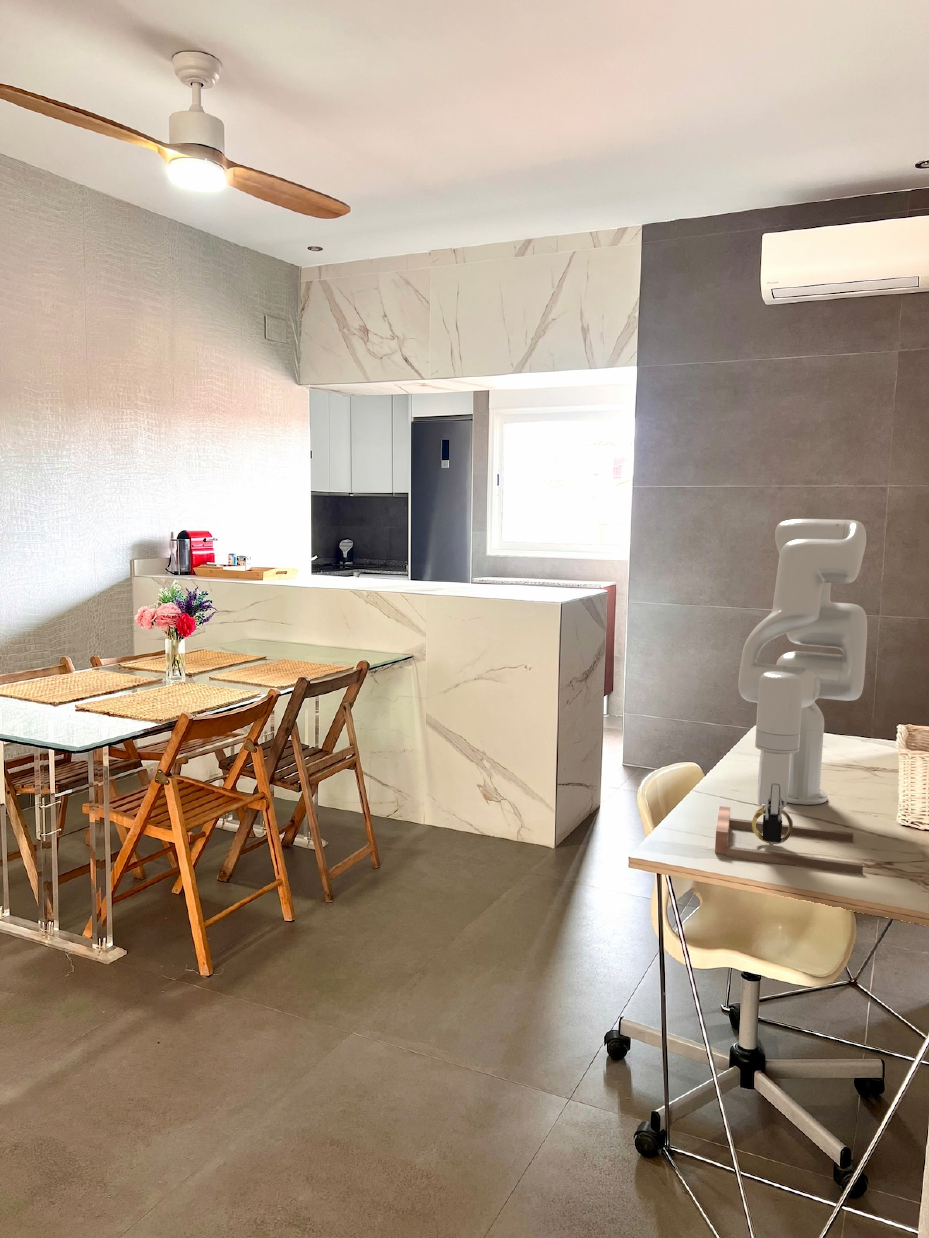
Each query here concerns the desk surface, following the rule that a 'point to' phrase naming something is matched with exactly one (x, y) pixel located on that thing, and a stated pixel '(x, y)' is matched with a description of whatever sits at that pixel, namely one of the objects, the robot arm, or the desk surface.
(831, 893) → the desk surface
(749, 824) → the channel
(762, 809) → the ring
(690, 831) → the desk surface
